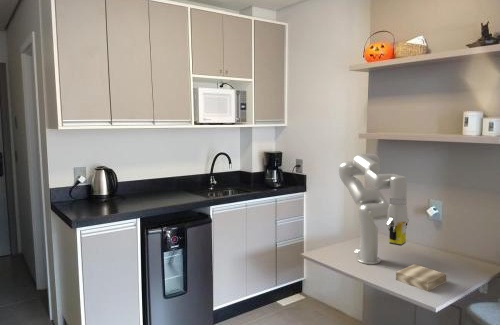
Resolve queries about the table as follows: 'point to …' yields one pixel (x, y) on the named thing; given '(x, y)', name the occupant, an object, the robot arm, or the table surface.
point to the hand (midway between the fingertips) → (397, 237)
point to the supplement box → (399, 234)
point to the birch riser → (421, 277)
